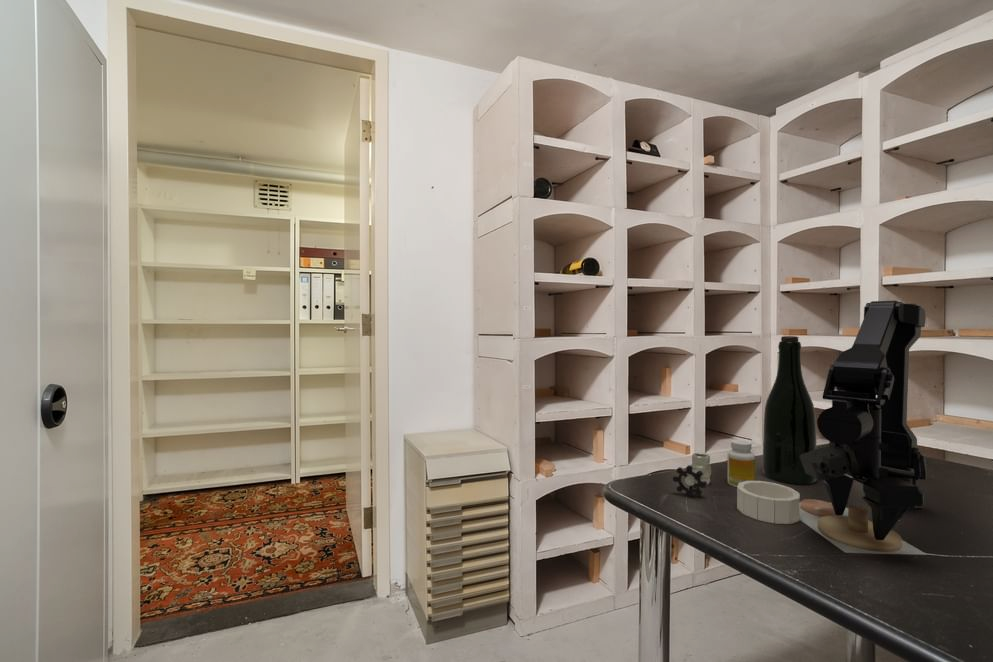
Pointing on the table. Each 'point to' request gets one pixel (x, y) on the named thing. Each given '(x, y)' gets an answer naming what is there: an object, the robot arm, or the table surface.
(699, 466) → the valve
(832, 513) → the pink glossy dome
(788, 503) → the bowl
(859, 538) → the lid
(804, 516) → the mat
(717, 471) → the table surface
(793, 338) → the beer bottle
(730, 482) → the supplement bottle
